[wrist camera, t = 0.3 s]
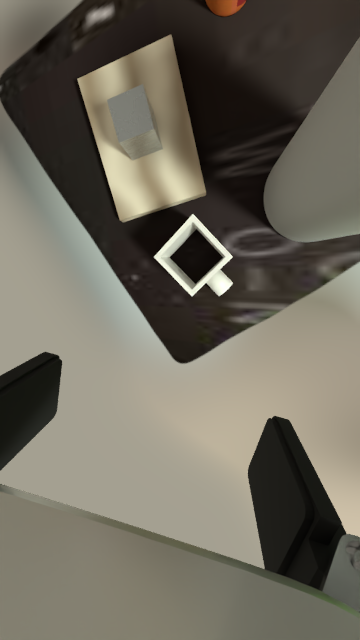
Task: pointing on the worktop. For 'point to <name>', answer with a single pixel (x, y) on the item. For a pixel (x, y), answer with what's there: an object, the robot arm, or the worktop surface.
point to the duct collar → (212, 278)
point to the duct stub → (135, 122)
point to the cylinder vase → (321, 165)
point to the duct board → (173, 125)
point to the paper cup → (225, 6)
